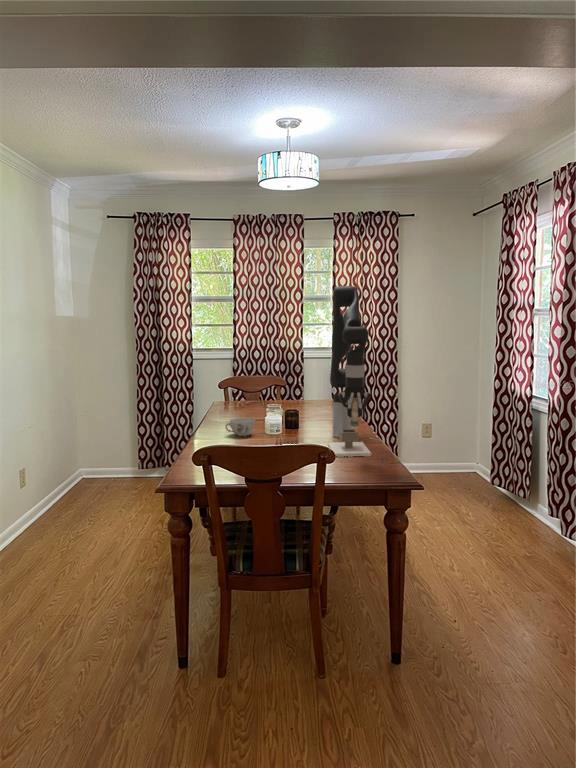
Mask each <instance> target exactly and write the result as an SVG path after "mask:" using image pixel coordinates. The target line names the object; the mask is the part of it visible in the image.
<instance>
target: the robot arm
mask: <svg viewBox="0 0 576 768" xmlns="http://www.w3.org/2000/svg"><path fill="white" fill-rule="evenodd" d="M359 299H360V297H359V291H358V288H357V287H356V286H353V285H347V286H346V285H340V286H338V285H337V286H335V287H334V289H333V293H332V306H333V307H332V308H333V309H332V310H333V311H332V312H333V314H332V315H333V316H332V317H333V318H332V319H333V321H332V334H331V335H332V336H331V337H332V339H331V366H330V373H329V376H330V377H329V382H330V386H331V387H332V388H340V389H341V388H345V389H344V390H343V391H341V392H339V393H336V394H334V395H333V397H332V437H335V438H339V429H353V426H350V424H351V404H352V400H353V398H356V397H357V398H358V404H359V405H358V418H361V417H362V415H363V412H362V411H363V408H365V407H367V405H368V404H369V401H370V398H371V396H372V394H371V393H370V392H367V391H366V390H365V365H364V364H365V363H364V361H365V360H364V358H365V351H366V350H365V349H366V346H367V343H368V340H369V330H368V329H367V328H366V326H362V320H361V317H360V300H359ZM341 308H346V310H345V311H344V313H343V314H342V312H341ZM352 345H358V347H357V348H354V349H351V348H352ZM345 357H346V358H345ZM344 358H345V359H346V361H345V362H346V366H345V368H339V366H340V364H341V362H342V360H343V359H344ZM363 397H365V398H364V400H363V403H362V398H363ZM339 439H340V438H339Z"/></svg>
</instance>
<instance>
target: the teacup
mask: <svg viewBox="0 0 576 768" xmlns="http://www.w3.org/2000/svg"><path fill="white" fill-rule="evenodd" d="M255 424H256V419H255V418H251V417H237V418H236V417H235V418H232V419H230V420H229V422H227V423H226V424H225V431H227V432H229V433H233V434H235V435H236V436H237V435H238V436H237V437H241V436H244V437H248V436H249V435H250V434H251V433H252V431H253V430H254V428H255ZM228 426H229V427H230V429H228ZM247 435H248V436H247Z"/></svg>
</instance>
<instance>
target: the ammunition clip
mask: <svg viewBox="0 0 576 768" xmlns="http://www.w3.org/2000/svg"><path fill="white" fill-rule="evenodd" d="M283 444H286V445H287V444H290V445H291V444H294V445H295V444H298V445H299V439H298V436H297V435H296V436H295V439H294V436H292V437H291V439H290V437H289V436H288V437H287V439H286V437H284V438H283V439H282V437H280V438H279V440H278V438H276V439H275V444H274V446H275V445H278V446H279V445H282V446H283Z"/></svg>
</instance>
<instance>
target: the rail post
mask: <svg viewBox="0 0 576 768" xmlns="http://www.w3.org/2000/svg"><path fill="white" fill-rule="evenodd" d="M358 405H359V404H358V398H357V397H356V398H353V400H352V404H351V424H350V426H352V427H358V426H359V417H358Z"/></svg>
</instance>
